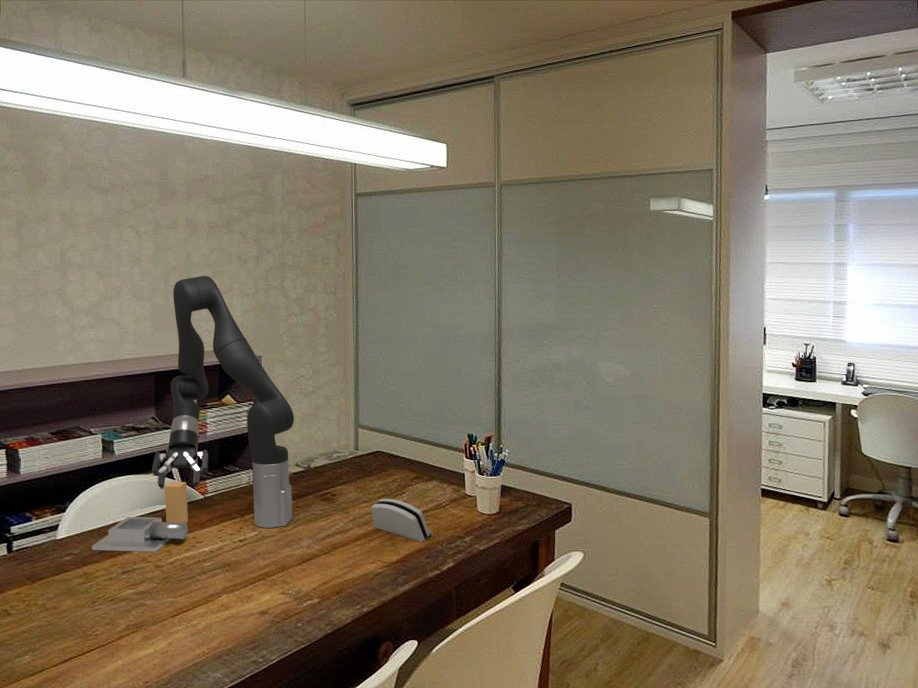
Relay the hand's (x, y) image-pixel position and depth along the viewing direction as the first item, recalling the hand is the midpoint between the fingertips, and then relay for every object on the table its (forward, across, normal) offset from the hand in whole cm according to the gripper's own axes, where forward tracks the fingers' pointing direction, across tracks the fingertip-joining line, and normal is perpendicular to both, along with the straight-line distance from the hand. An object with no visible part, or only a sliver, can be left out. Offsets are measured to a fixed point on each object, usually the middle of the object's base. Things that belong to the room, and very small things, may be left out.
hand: (178, 486), depth 193 cm
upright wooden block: (+9, 0, +4) cm, 10 cm away
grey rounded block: (+22, +58, -8) cm, 62 cm away
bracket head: (+17, -6, -4) cm, 18 cm away
